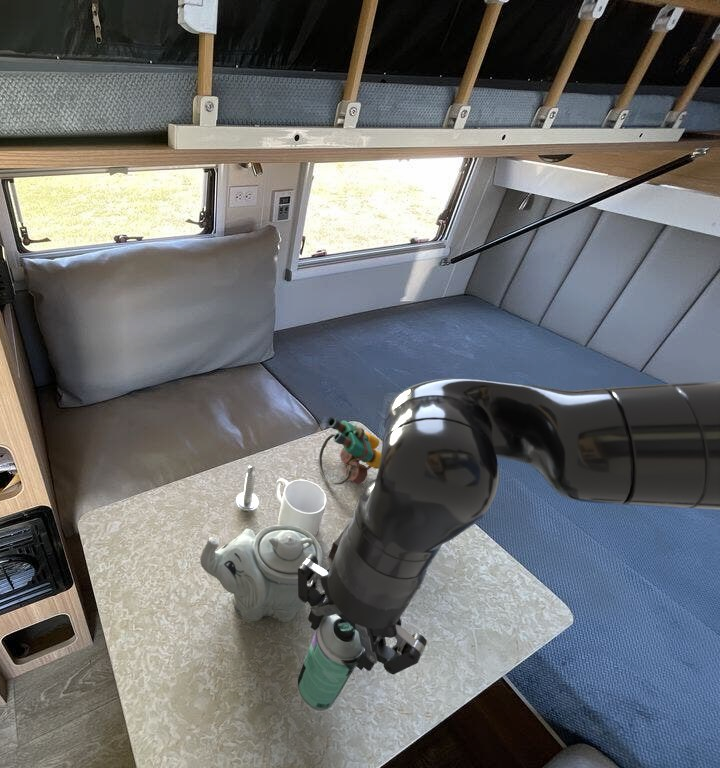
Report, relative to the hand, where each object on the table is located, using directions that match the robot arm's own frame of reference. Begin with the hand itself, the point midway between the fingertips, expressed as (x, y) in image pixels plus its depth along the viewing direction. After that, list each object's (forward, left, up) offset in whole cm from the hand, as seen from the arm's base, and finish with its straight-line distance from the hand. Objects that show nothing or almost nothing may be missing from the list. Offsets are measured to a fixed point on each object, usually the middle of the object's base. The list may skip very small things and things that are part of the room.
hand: (338, 642), depth 49 cm
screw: (+29, -20, -20) cm, 41 cm away
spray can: (0, 0, -16) cm, 16 cm away
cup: (+20, -24, -20) cm, 37 cm away
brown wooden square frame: (+4, -28, -20) cm, 35 cm away
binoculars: (+18, -45, -20) cm, 53 cm away
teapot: (+16, -6, -20) cm, 27 cm away
